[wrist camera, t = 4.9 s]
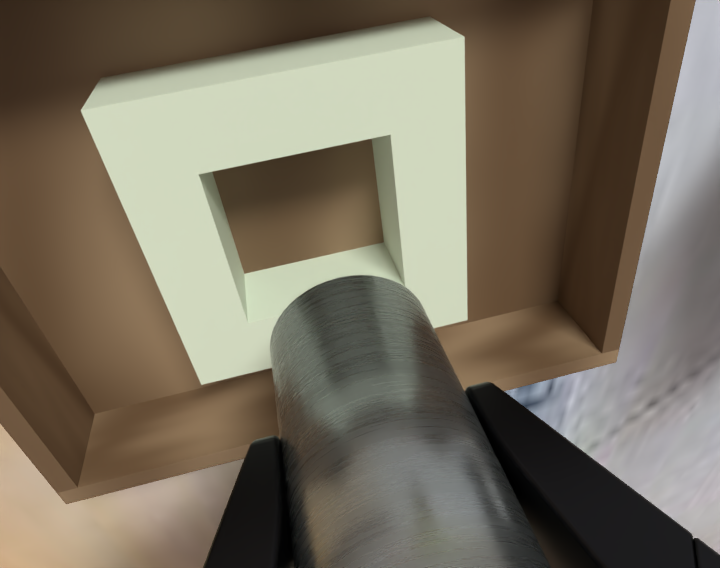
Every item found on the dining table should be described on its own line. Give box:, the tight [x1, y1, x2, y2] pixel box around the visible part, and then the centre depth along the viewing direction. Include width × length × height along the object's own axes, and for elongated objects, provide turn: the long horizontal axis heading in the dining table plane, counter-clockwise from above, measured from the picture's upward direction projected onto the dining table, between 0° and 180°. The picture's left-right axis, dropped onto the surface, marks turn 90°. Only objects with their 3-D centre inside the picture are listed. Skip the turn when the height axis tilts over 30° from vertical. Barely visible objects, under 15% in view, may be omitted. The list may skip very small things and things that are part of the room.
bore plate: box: [81, 16, 468, 385], centre depth 15 cm, size 8×8×2 cm
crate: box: [0, 0, 696, 504], centre depth 15 cm, size 18×14×4 cm
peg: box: [270, 275, 551, 568], centre depth 7 cm, size 3×3×8 cm
